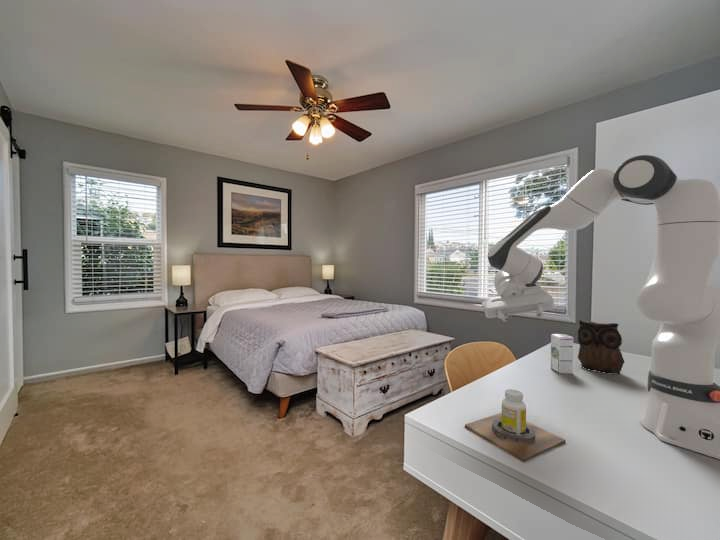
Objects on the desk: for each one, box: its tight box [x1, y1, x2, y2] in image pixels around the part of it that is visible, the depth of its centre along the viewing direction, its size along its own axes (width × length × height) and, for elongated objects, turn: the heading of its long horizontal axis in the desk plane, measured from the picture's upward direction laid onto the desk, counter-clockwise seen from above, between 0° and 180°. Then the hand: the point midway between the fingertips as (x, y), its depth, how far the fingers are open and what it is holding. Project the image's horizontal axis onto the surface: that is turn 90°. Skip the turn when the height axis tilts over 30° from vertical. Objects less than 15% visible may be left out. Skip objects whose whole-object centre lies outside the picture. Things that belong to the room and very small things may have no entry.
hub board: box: [464, 412, 566, 463], centre depth 76 cm, size 16×16×2 cm
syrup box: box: [550, 333, 574, 374], centre depth 124 cm, size 6×6×14 cm
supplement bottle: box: [501, 388, 527, 436], centre depth 76 cm, size 5×5×10 cm
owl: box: [577, 319, 625, 375], centre depth 127 cm, size 13×13×20 cm
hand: (522, 317), depth 93 cm, fingers open, 8 cm apart
